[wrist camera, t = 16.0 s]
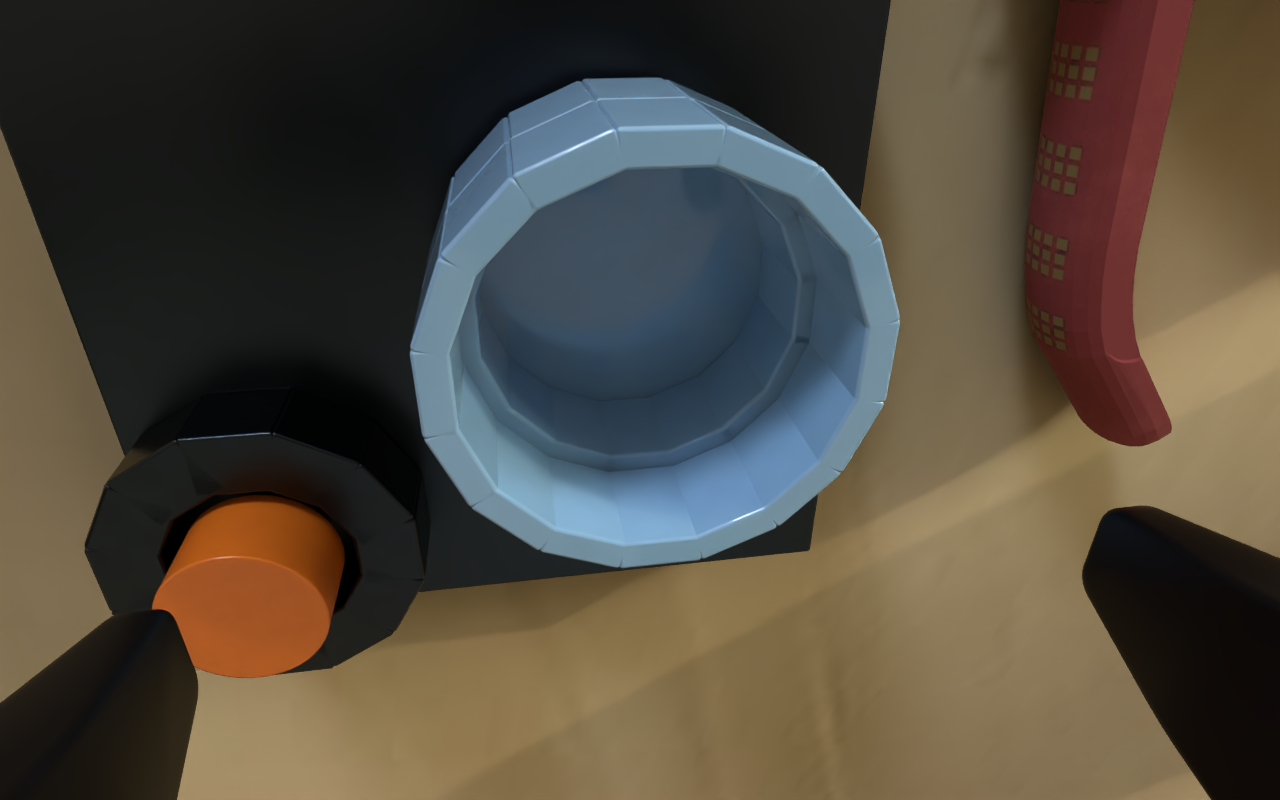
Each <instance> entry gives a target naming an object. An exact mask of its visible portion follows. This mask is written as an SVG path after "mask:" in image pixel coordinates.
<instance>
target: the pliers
mask: <svg viewBox="0 0 1280 800" xmlns="http://www.w3.org/2000/svg"><path fill="white" fill-rule="evenodd" d="M1193 3H1194V0H1060V2H1059V8H1058V15H1057V22H1056V29H1055V36H1054V42H1053V49H1052V56H1051V63H1050V70H1049V77H1048V83H1047V90H1046V97H1045V104H1044V111H1043V118H1042V124H1041V131H1040V138H1039V145H1038V152H1037V158H1036V165H1035V172H1034V179H1033V186H1032V193H1031V199H1030V206H1029V213H1028V220H1027V228H1026V242H1025V293H1026V306H1027V311H1028V315H1029V320H1030V324H1031V329H1032V333H1033V335H1034V337H1035V339H1036V341H1037V343H1038V345H1039V346H1040V348H1041V350H1042V352H1043V353H1044V355H1045V357H1046V359H1047V361H1048V362H1049V364H1050V366H1051V368H1052V369H1053V371H1054V373H1055V375H1056V376H1057V378H1058V380H1059V382H1060V384H1061V385H1062V387H1063V389H1064V391H1065V392H1066V394H1067V396H1068V398H1069V399H1070V401H1071V403H1072V405H1073V407H1074V408H1075V410H1076V412H1077V414H1078V416H1079V417H1080V418H1081V420H1082V421H1083V422H1084V423H1085V424H1086V425H1087V426H1088V427H1089V428H1090V429H1091V430H1093V431H1094V432H1095V433H1097V434H1098V435H1100V436H1101V437H1103V438H1105V439H1107V440H1109V441H1112V442H1115V443H1118V444H1122V445H1126V446H1144V445H1147V444H1150V443H1153V442H1155V441H1157V440H1159V439H1161V438H1163V437H1164V436H1166V435H1168V434H1169V433H1171V430H1172V426H1171V422H1170V419H1169V417H1168V414H1167V412H1166V410H1165V408H1164V405H1163V403H1162V401H1161V399H1160V397H1159V395H1158V392H1157V390H1156V388H1155V386H1154V384H1153V381H1152V379H1151V377H1150V375H1149V373H1148V370H1147V368H1146V366H1145V364H1144V362H1143V360H1142V358H1141V357H1140V353H1139V349H1138V346H1137V342H1136V338H1135V331H1134V324H1133V285H1134V273H1135V267H1136V260H1137V253H1138V247H1139V243H1140V238H1141V234H1142V229H1143V225H1144V221H1145V216H1146V212H1147V207H1148V203H1149V198H1150V194H1151V190H1152V185H1153V181H1154V176H1155V172H1156V167H1157V163H1158V158H1159V154H1160V150H1161V145H1162V141H1163V136H1164V132H1165V127H1166V123H1167V119H1168V114H1169V110H1170V105H1171V101H1172V96H1173V92H1174V88H1175V83H1176V79H1177V74H1178V70H1179V65H1180V61H1181V57H1182V52H1183V48H1184V43H1185V39H1186V34H1187V30H1188V26H1189V21H1190V17H1191V12H1192V8H1193Z"/></svg>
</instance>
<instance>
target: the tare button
mask: <svg viewBox="0 0 1280 800" xmlns="http://www.w3.org/2000/svg"><path fill="white" fill-rule="evenodd" d="M344 564H345V551H344V546H343V543H342V540H341V538H340V536H339V534H338V532H337V531H336V529H335V528H334V527H333V525H332V524H331V523H330V522H329V521H328V520H327V519H326V518H325V517H324V516H322V515H321V514H320V513H318V512H317V511H315V510H314V509H312V508H311V507H309V506H307V505H305V504H303V503H300V502H297V501H295V500H292V499H288V498H284V497H279V496H273V495H246V496H239V497H235V498H231V499H228V500H225V501H222V502H220V503H218V504H216V505H214V506H212V507H210V508H209V509H207V510H206V511H205V512H203V513H202V514H201V515H200V516H199V517H198V518H197V519H196V520H195V522H194V523H193V524H192V525H191V527H190V529H189V531H188V533H187V535H186V537H185V539H184V541H183V543H182V545H181V547H180V549H179V550H178V552H177V554H176V556H175V558H174V560H173V562H172V564H171V566H170V568H169V570H168V572H167V573H166V575H165V577H164V579H163V581H162V583H161V585H160V587H159V589H158V591H157V593H156V595H155V597H154V600H153V604H152V610H154V609H163V610H166V611H168V612H170V613H171V614H172V615H173V616H174V618H175V620H176V622H177V624H178V627H179V629H180V632H181V635H182V637H183V640H184V642H185V645H186V648H187V650H188V653H189V655H190V658H191V660H192V663H193V666H194V667H196V668H198V669H201V670H204V671H206V672H210V673H213V674H217V675H222V676H228V677H237V678H256V677H265V676H271V675H275V674H279V673H283V672H285V671H288V670H291V669H293V668H295V667H297V666H299V665H301V664H302V663H304V662H305V661H307V660H308V659H309V658H311V657H312V656H313V655H314V654H315V653H316V652H317V651H318V650H319V649H320V647H321V646H322V644H323V643H324V641H325V640H326V637H327V635H328V632H329V628H330V624H331V619H332V615H333V611H334V607H335V603H336V598H337V594H338V590H339V586H340V582H341V577H342V573H343V569H344Z"/></svg>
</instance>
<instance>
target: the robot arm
mask: <svg viewBox="0 0 1280 800" xmlns="http://www.w3.org/2000/svg"><path fill="white" fill-rule="evenodd" d="M1082 580H1083V585H1084V588H1085V591H1086V593H1087V595H1088V597H1089V599H1090V601H1091V603H1092V604H1093V606H1094V608H1095V610H1096V612H1097V613H1098V615H1099V617H1100V619H1101V620H1102V622H1103V624H1104V626H1105V628H1106V629H1107V631H1108V633H1109V635H1110V637H1111V638H1112V640H1113V642H1114V644H1115V645H1116V647H1117V649H1118V651H1119V653H1120V654H1121V656H1122V658H1123V660H1124V661H1125V663H1126V665H1127V667H1128V669H1129V670H1130V672H1131V674H1132V676H1133V677H1134V679H1135V681H1136V683H1137V685H1138V686H1139V688H1140V690H1141V692H1142V694H1143V695H1144V697H1145V699H1146V701H1147V702H1148V704H1149V706H1150V708H1151V709H1152V711H1153V713H1154V714H1155V716H1156V718H1157V719H1158V721H1159V723H1160V724H1161V726H1162V728H1163V729H1164V731H1165V732H1166V734H1167V735H1168V737H1169V738H1170V740H1171V741H1172V743H1173V745H1174V746H1175V748H1176V749H1177V751H1178V752H1179V754H1180V755H1181V756H1182V758H1183V759H1184V761H1185V762H1186V764H1187V765H1188V767H1189V768H1190V770H1191V771H1192V772H1193V774H1194V775H1195V777H1196V778H1197V780H1198V781H1199V783H1200V784H1201V786H1202V787H1203V789H1204V790H1205V791H1206V793H1207V794H1208V796H1209V797H1210V799H1211V800H1280V558H1278V557H1275V556H1273V555H1270V554H1268V553H1265V552H1263V551H1260V550H1258V549H1256V548H1253V547H1251V546H1248V545H1246V544H1243V543H1241V542H1238V541H1236V540H1234V539H1231V538H1229V537H1226V536H1224V535H1221V534H1219V533H1216V532H1214V531H1212V530H1209V529H1207V528H1204V527H1202V526H1199V525H1197V524H1194V523H1192V522H1190V521H1187V520H1185V519H1182V518H1180V517H1177V516H1175V515H1172V514H1170V513H1168V512H1165V511H1163V510H1160V509H1158V508H1155V507H1151V506H1133V507H1123V508H1115V509H1112V510H1110V511H1108V512H1107V513H1106V514H1105V515H1104V516H1103V517H1102V519H1101V521H1100V523H1099V526H1098V528H1097V531H1096V534H1095V536H1094V539H1093V542H1092V544H1091V547H1090V550H1089V552H1088V555H1087V558H1086V561H1085V563H1084V566H1083V570H1082ZM197 699H198V680H197V674H196V671H195V668H194V666H193V663H192V660H191V658H190V655H189V653H188V650H187V648H186V645H185V642H184V640H183V637H182V635H181V632H180V629H179V627H178V624H177V622H176V620H175V618H174V616H173V615H172V614H171V613H170V612H168V611H166V610H163V609H154V610H144V611H135V612H125V613H120V614H116V615H114V616H112V617H110V618H109V619H107V620H106V621H104V622H103V623H102V624H101V625H99V626H98V627H97V628H95V629H94V630H93V631H92V632H90V633H89V634H88V635H87V636H85V637H84V638H83V639H81V640H80V641H79V642H78V643H76V644H75V645H74V646H73V647H71V648H70V649H69V650H67V651H66V652H65V653H64V654H62V655H61V656H60V657H59V658H57V659H56V660H55V661H53V662H52V663H51V664H50V665H48V666H47V667H46V668H44V669H43V670H42V671H41V672H39V673H38V674H37V675H36V676H34V677H33V678H32V679H30V680H29V681H28V682H27V683H25V684H24V685H23V686H22V687H20V688H19V689H18V690H16V691H15V692H14V693H13V694H11V695H10V696H9V697H8V698H6V699H5V700H4V701H2V702H1V703H0V800H177V797H178V792H179V787H180V782H181V777H182V773H183V768H184V763H185V758H186V753H187V748H188V744H189V739H190V734H191V729H192V724H193V719H194V715H195V710H196V705H197Z"/></svg>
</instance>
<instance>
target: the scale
mask: <svg viewBox="0 0 1280 800" xmlns="http://www.w3.org/2000/svg"><path fill="white" fill-rule="evenodd" d="M890 2H891V0H0V127H1V130H2V133H3V135H4V138H5V141H6V143H7V146H8V149H9V151H10V154H11V157H12V159H13V162H14V165H15V167H16V170H17V172H18V175H19V178H20V180H21V183H22V186H23V188H24V191H25V194H26V196H27V199H28V202H29V204H30V207H31V209H32V212H33V215H34V217H35V220H36V223H37V225H38V228H39V231H40V233H41V236H42V239H43V241H44V244H45V246H46V249H47V252H48V254H49V257H50V260H51V262H52V265H53V268H54V270H55V273H56V276H57V278H58V281H59V283H60V286H61V289H62V291H63V294H64V297H65V299H66V302H67V305H68V307H69V310H70V313H71V315H72V318H73V320H74V323H75V326H76V328H77V331H78V334H79V336H80V339H81V342H82V344H83V347H84V350H85V352H86V355H87V357H88V360H89V363H90V365H91V368H92V371H93V373H94V376H95V379H96V381H97V384H98V387H99V389H100V392H101V394H102V397H103V400H104V402H105V405H106V408H107V410H108V413H109V416H110V418H111V421H112V424H113V426H114V429H115V431H116V434H117V437H118V439H119V442H120V445H121V447H122V450H123V453H124V455H125V458H124V459H123V460H122V462H121V463H120V465H119V466H118V467H117V469H116V470H115V472H114V473H113V474H112V476H111V477H110V478H109V480H108V481H107V483H106V484H105V485H104V488H103V491H102V494H101V497H100V500H99V503H98V506H97V508H96V511H95V514H94V517H93V520H92V523H91V526H90V529H89V532H88V535H87V538H86V540H85V554H86V557H87V559H88V561H89V563H90V566H91V568H92V570H93V573H94V575H95V577H96V579H97V582H98V584H99V586H100V588H101V591H102V593H103V595H104V598H105V600H106V602H107V604H108V607H109V609H110V610H111V611H112V614H113V615H116V614H120V613H125V612H135V611H144V610H152V604H153V600H154V597H155V595H156V593H157V591H158V589H159V587H160V585H161V583H162V581H163V579H164V577H165V575H166V573H167V572H168V570H169V568H170V566H171V564H172V562H173V560H174V558H175V556H176V554H177V552H178V550H179V549H180V547H181V545H182V543H183V541H184V539H185V537H186V535H187V533H188V531H189V529H190V527H191V525H192V524H193V523H194V522H195V520H196V519H197V518H198V517H199V516H200V515H201V514H202V513H203V512H205V511H206V510H207V509H209V508H210V507H212V506H214V505H216V504H218V503H220V502H222V501H225V500H228V499H231V498H235V497H239V496H246V495H273V496H279V497H284V498H288V499H292V500H295V501H297V502H300V503H303V504H305V505H307V506H309V507H311V508H312V509H314V510H315V511H317V512H318V513H320V514H321V515H322V516H324V517H325V518H326V519H327V520H328V521H329V522H330V523H331V524H332V525H333V527H334V528H335V529H336V531H337V532H338V534H339V536H340V538H341V540H342V543H343V546H344V551H345V564H344V569H343V573H342V577H341V582H340V586H339V590H338V594H337V598H336V603H335V607H334V611H333V615H332V619H331V624H330V628H329V632H328V635H327V637H326V640H325V641H324V643H323V644H322V646H321V647H320V649H319V650H318V651H317V652H316V653H315V654H314V655H313V656H312V657H311V658H309V659H308V660H307V661H305V662H304V663H302V664H301V665H299V666H297V667H295V668H293V669H291V670H288V671H285V672H283V673H279V674H287V673H295V672H304V671H312V670H321V669H329V668H333V666H337V665H339V664H341V663H342V662H344V661H346V660H348V659H350V658H351V657H353V656H355V655H357V654H358V653H360V652H362V651H364V650H366V649H367V648H369V647H371V646H373V645H374V644H376V643H378V642H380V641H381V640H383V639H385V638H387V637H389V636H390V635H392V634H393V632H394V631H395V630H396V629H397V628H398V626H399V625H400V623H401V621H402V619H403V618H404V616H405V614H406V612H407V611H408V609H409V607H410V605H411V604H412V602H413V600H414V598H415V597H416V595H417V593H418V592H423V591H433V590H442V589H452V588H461V587H471V586H480V585H490V584H499V583H508V582H518V581H527V580H537V579H546V578H556V577H565V576H575V575H584V574H594V573H603V572H613V571H622V570H632V569H641V568H651V567H660V566H669V565H679V564H688V563H698V562H707V561H717V560H726V559H736V558H745V557H755V556H764V555H774V554H783V553H793V552H802V551H809V550H810V544H811V538H812V531H813V524H814V517H815V510H816V504H817V497H818V494H817V495H816V496H815V497H813V498H812V499H811V500H810V501H809V502H807V503H806V504H805V505H804V506H803V507H802V508H800V509H799V510H798V511H797V512H796V513H794V514H793V515H792V516H791V517H790V518H788V519H787V520H786V521H785V522H784V523H783V524H781V525H779V526H778V525H776V528H775V529H773V530H770V531H768V532H766V533H763V534H761V535H759V536H756V537H754V538H752V539H749V540H747V541H744V542H742V543H740V544H737V545H735V546H733V547H730V548H728V549H726V550H723V551H721V552H719V553H716V554H714V555H711V556H709V557H707V558H700V560H696V561H686V562H677V563H667V564H658V565H649V566H639V567H630V568H620V566H619V567H618V568H615V567H610V566H605V565H601V564H596V563H591V562H586V561H582V560H577V559H572V558H568V557H563V556H558V555H554V554H549V553H544V552H542V551H541V550H536V549H535V548H533V547H531V546H530V545H528V544H527V543H525V542H524V541H522V540H520V539H519V538H517V537H516V536H514V535H512V534H511V533H509V532H508V531H506V530H505V529H503V528H501V527H500V526H498V525H497V524H495V523H493V522H492V521H490V520H489V519H487V518H486V517H484V516H482V515H481V514H479V513H478V512H476V511H474V510H473V509H472V507H471V506H469V505H468V504H467V502H466V501H465V499H464V498H463V496H462V495H461V494H460V492H459V491H458V489H457V488H456V486H455V485H454V483H453V482H452V480H451V479H450V477H449V476H448V475H447V473H446V472H445V470H444V469H443V467H442V466H441V464H440V463H439V461H438V460H437V458H436V457H435V456H434V454H433V453H432V451H431V450H430V448H429V447H428V445H427V444H426V442H425V440H424V437H423V435H422V432H421V426H420V419H419V413H418V407H417V400H416V394H415V387H414V381H413V374H412V368H411V361H410V355H409V354H410V349H411V348H410V344H411V339H412V334H413V329H414V324H415V319H416V314H417V310H418V305H419V300H420V295H421V290H422V285H423V280H424V275H425V270H426V266H427V261H428V256H429V251H430V246H431V243H432V240H433V236H434V233H435V230H436V226H437V223H438V220H439V217H440V213H441V210H442V207H443V203H444V200H445V197H446V194H447V190H448V187H449V184H450V180H451V178H452V177H454V175H455V172H456V171H457V170H458V169H459V167H460V166H461V165H462V164H463V163H464V162H465V161H466V159H467V158H468V157H469V156H470V155H471V154H472V153H473V151H474V150H475V149H476V148H477V147H478V146H479V145H480V143H481V142H482V141H483V140H484V139H485V138H486V136H487V135H488V134H489V133H490V132H491V131H492V130H493V128H494V127H495V126H496V125H497V124H498V123H499V122H500V120H501V119H503V118H505V117H506V118H508V114H509V113H510V112H512V111H514V110H516V109H518V108H521V107H523V106H525V105H527V104H529V103H531V102H533V101H536V100H538V99H540V98H542V97H544V96H546V95H548V94H551V93H553V92H555V91H557V90H559V89H561V88H563V87H566V86H568V85H570V84H572V83H574V82H576V81H581V82H582V80H584V79H603V78H662V79H664V80H670V81H673V82H675V83H677V84H680V85H682V86H684V87H686V88H689V89H691V90H693V91H695V92H698V93H700V94H702V95H705V96H707V97H709V98H711V99H714V100H716V101H718V102H720V103H723V104H725V105H727V106H730V107H732V108H733V109H735V110H736V111H738V112H739V113H741V114H743V115H744V116H746V117H747V118H749V119H750V120H752V121H753V122H755V123H756V124H758V125H759V126H761V127H762V128H764V129H765V130H767V131H769V132H770V133H772V134H773V135H775V136H777V137H778V138H780V139H781V140H783V141H784V142H786V143H787V144H789V145H790V146H792V147H793V148H795V149H796V150H798V151H799V152H801V153H802V154H804V155H806V156H807V157H809V158H810V159H812V160H813V161H815V162H816V163H817V164H818V165H820V166H821V167H823V168H824V169H825V170H826V171H827V173H828V174H829V175H830V176H831V177H832V179H833V180H834V181H835V182H836V183H837V184H838V186H839V187H840V188H841V189H842V190H843V192H844V193H845V194H846V195H847V196H848V197H849V199H850V200H851V201H852V202H853V203H854V205H855V206H856V207H857V208H858V209H859V210H860V206H861V199H862V192H863V185H864V178H865V172H866V165H867V158H868V151H869V145H870V138H871V131H872V124H873V117H874V111H875V104H876V97H877V90H878V84H879V77H880V70H881V63H882V56H883V50H884V43H885V36H886V29H887V23H888V16H889V9H890ZM275 675H278V674H275Z"/></svg>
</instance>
